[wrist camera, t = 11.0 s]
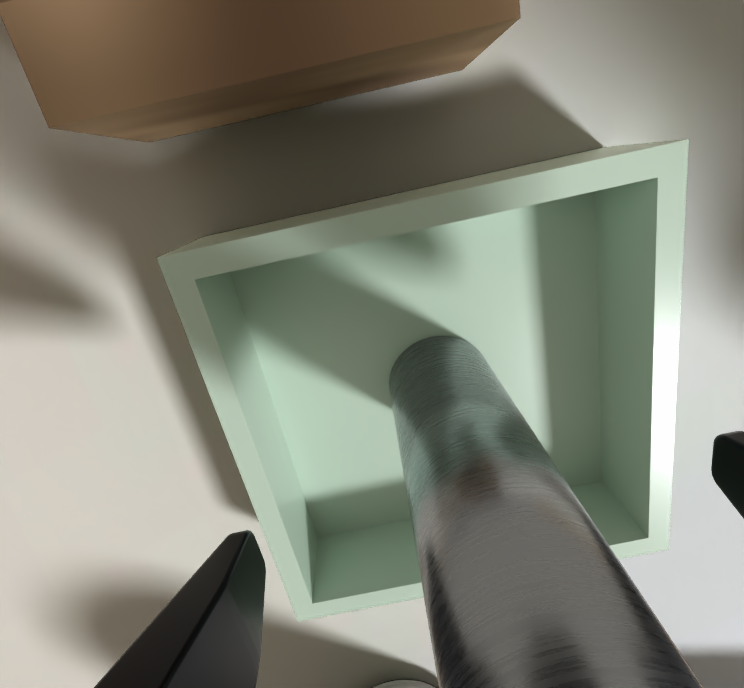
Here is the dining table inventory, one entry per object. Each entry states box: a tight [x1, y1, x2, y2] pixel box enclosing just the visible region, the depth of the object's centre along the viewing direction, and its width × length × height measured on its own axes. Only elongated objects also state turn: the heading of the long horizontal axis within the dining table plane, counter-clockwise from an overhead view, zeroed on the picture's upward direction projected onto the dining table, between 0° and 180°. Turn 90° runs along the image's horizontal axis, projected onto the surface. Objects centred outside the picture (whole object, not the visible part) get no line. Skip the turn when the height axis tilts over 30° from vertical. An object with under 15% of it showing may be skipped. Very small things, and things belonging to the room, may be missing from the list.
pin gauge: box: [389, 336, 703, 688], centre depth 9 cm, size 3×3×10 cm
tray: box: [157, 139, 689, 622], centre depth 12 cm, size 11×11×3 cm
